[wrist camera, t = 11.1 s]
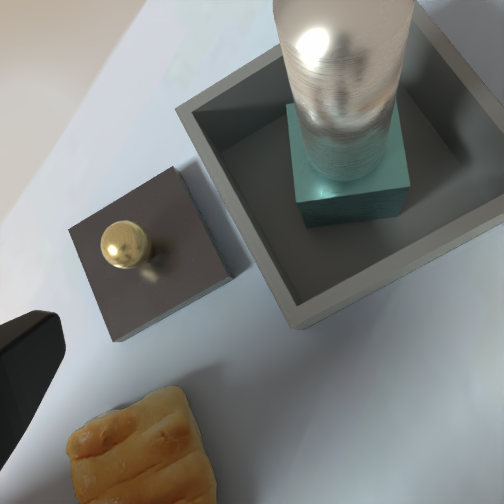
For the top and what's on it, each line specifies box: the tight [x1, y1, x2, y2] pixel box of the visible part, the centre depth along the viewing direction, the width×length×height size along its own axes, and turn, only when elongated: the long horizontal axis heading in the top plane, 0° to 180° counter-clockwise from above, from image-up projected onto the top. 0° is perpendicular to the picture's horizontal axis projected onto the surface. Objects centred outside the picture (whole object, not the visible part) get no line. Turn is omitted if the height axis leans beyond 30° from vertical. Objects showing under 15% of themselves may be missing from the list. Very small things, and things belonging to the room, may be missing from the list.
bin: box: [175, 0, 504, 330], centre depth 19 cm, size 11×11×5 cm
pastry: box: [66, 385, 217, 504], centre depth 19 cm, size 9×7×4 cm
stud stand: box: [68, 166, 233, 342], centre depth 21 cm, size 7×7×4 cm
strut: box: [273, 0, 415, 229], centre depth 15 cm, size 4×4×12 cm
